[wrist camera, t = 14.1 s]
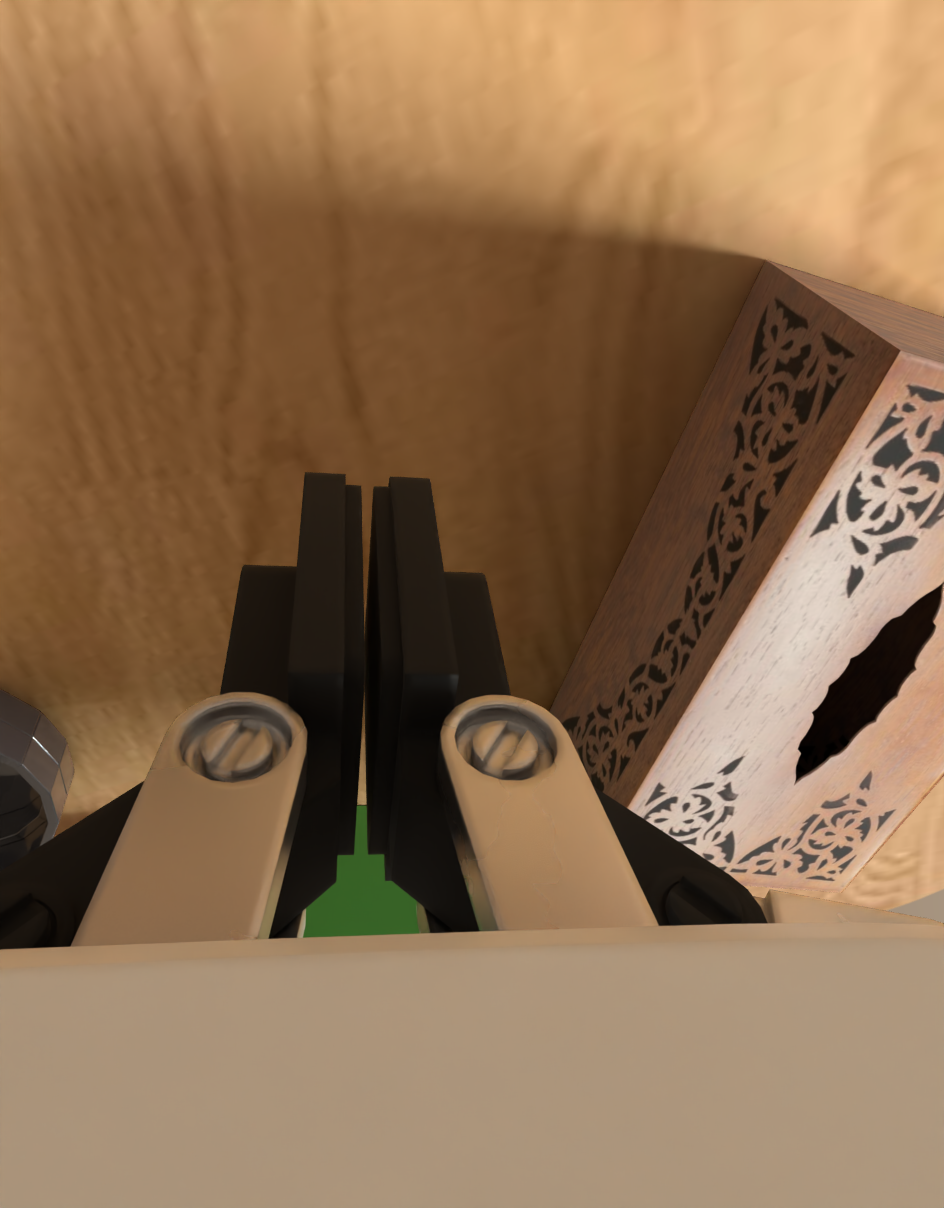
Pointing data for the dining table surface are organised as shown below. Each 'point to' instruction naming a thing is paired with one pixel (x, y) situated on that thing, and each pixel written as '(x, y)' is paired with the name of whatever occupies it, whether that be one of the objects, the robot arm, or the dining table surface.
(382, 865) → the hardback book
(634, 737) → the tissue box cover
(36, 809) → the ashtray
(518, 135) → the dining table surface
